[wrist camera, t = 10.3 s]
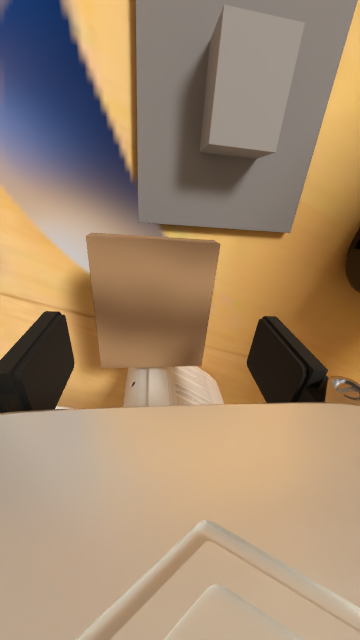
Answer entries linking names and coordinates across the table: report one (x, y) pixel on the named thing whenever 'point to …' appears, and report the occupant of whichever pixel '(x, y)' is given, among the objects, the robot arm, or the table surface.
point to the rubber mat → (180, 116)
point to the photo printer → (170, 387)
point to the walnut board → (151, 298)
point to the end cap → (354, 263)
